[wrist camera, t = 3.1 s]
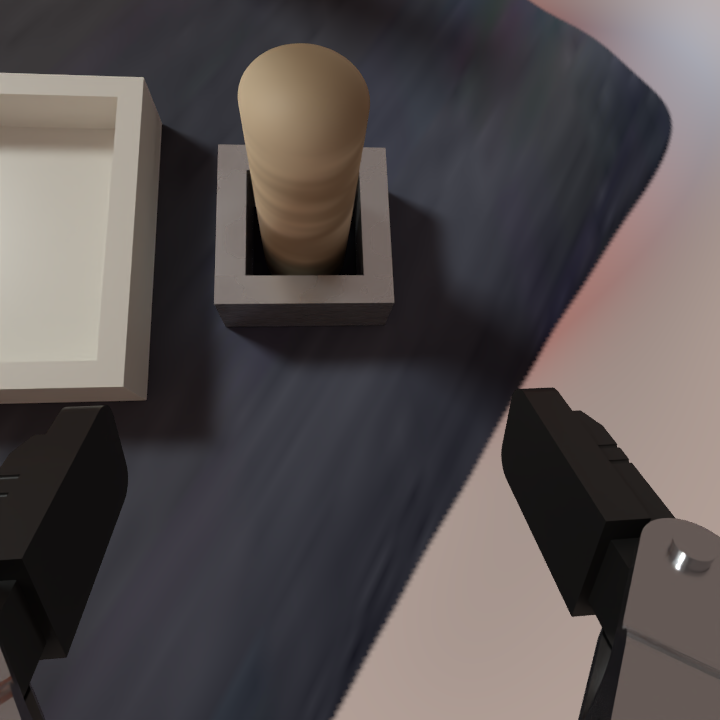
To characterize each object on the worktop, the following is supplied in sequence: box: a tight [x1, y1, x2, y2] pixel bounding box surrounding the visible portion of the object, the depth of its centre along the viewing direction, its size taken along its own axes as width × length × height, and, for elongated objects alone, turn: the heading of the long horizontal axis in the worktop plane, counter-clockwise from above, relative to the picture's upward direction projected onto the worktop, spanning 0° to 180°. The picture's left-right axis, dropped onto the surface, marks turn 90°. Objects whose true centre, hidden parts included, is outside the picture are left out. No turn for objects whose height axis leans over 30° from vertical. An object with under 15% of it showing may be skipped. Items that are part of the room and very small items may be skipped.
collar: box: [214, 145, 394, 327], centre depth 28 cm, size 8×8×4 cm
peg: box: [238, 43, 370, 276], centre depth 24 cm, size 4×4×12 cm
